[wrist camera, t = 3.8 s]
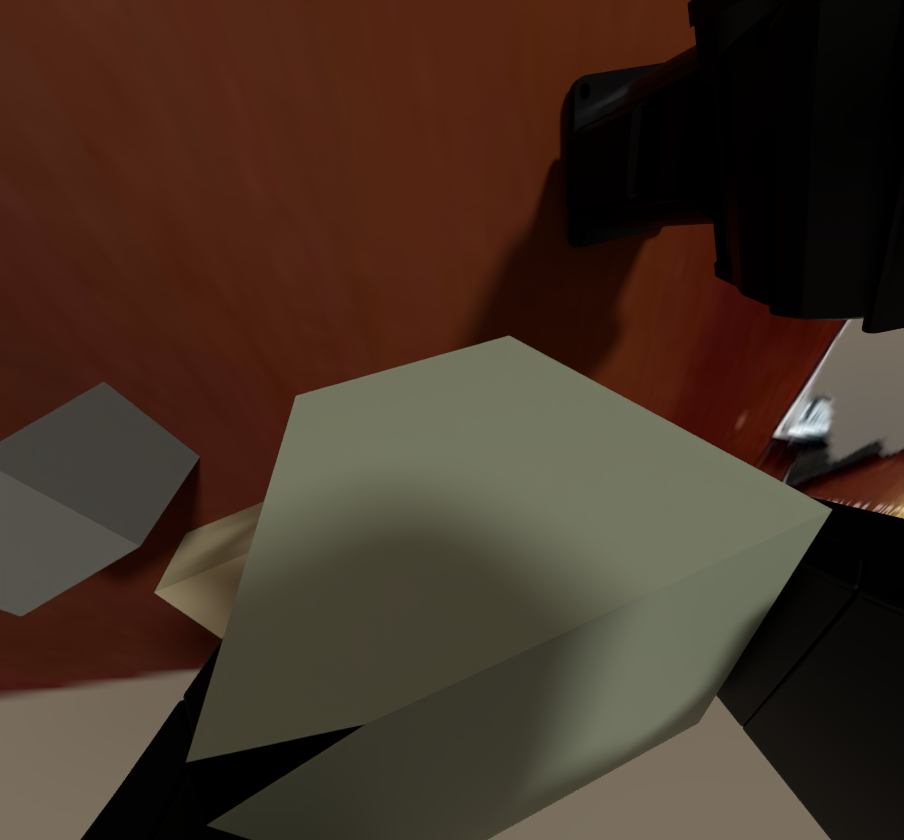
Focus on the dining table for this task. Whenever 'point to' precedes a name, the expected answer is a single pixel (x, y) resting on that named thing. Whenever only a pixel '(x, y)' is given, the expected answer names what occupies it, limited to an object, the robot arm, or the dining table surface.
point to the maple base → (210, 569)
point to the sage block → (479, 601)
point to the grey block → (81, 493)
